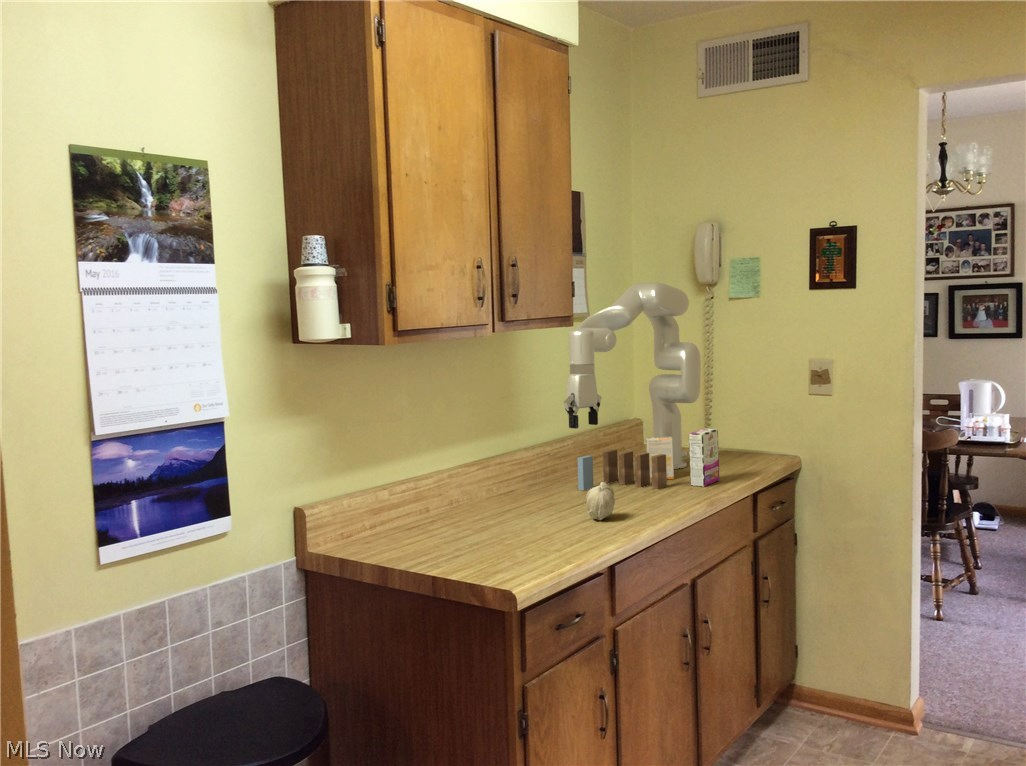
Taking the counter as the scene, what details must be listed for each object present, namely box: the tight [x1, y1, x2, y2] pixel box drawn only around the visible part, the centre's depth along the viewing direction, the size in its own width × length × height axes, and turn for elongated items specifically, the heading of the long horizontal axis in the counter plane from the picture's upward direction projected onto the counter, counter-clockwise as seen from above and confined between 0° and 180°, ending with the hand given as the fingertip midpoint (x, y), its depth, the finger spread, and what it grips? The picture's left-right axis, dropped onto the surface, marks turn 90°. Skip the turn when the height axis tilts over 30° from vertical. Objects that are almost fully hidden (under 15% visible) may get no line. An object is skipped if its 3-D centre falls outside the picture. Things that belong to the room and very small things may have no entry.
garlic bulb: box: [585, 481, 616, 521], centre depth 233 cm, size 10×8×10 cm
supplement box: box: [645, 437, 675, 480], centre depth 285 cm, size 8×5×13 cm, turn 84°
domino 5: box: [651, 454, 668, 490], centre depth 270 cm, size 2×5×10 cm, turn 138°
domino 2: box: [602, 449, 619, 484], centre depth 282 cm, size 2×5×10 cm, turn 138°
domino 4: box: [634, 451, 651, 488], centre depth 274 cm, size 2×5×10 cm, turn 138°
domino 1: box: [577, 455, 595, 491], centre depth 272 cm, size 2×5×10 cm, turn 138°
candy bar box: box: [688, 427, 720, 488], centre depth 274 cm, size 11×5×16 cm, turn 143°
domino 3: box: [618, 450, 635, 486], centre depth 278 cm, size 2×5×10 cm, turn 138°
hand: (583, 426), depth 271 cm, fingers open, 9 cm apart
